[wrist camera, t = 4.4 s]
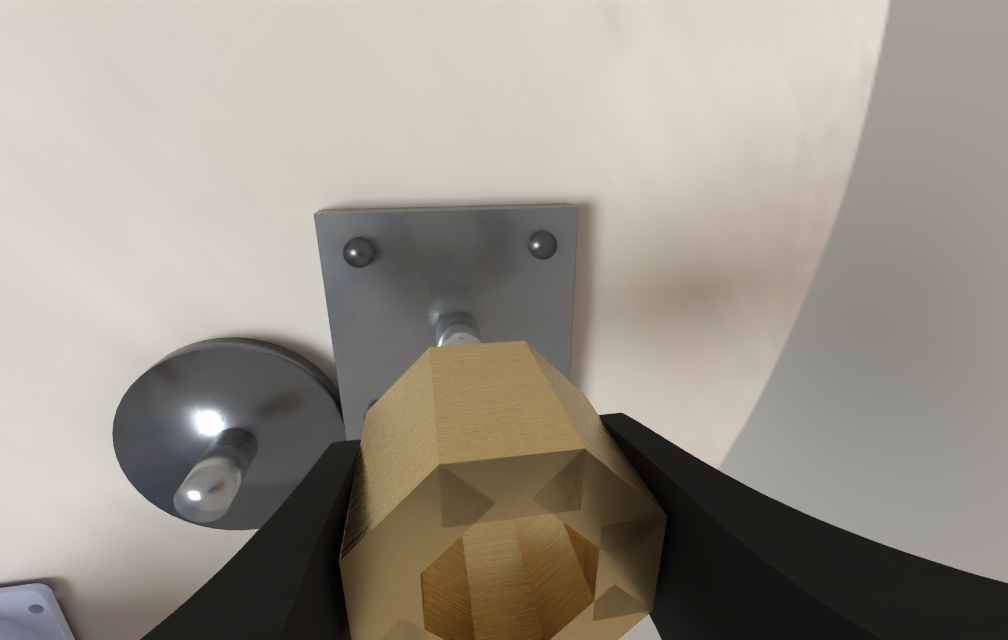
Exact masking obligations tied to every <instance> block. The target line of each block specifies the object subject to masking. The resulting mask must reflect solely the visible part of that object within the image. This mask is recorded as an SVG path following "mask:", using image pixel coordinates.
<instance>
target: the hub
mask: <svg viewBox="0 0 1008 640" xmlns="http://www.w3.org/2000/svg"><path fill="white" fill-rule="evenodd" d="M314 220H315V227H316V233H317V240H318V247H319V254H320V261H321V268H322V275H323V282H324V289H325V296H326V302H327V309H328V316H329V323H330V330H331V337H332V344H333V351H334V358H335V365H336V371H337V378H338V385H339V392H340V399H341V406H342V413H343V420H344V427H345V434H346V440H347V441H350V440H360V439H361V438H362V432H363V427H364V421H365V416H366V412H367V411H368V410H369V409H370V408H371V407H372V406H373V405H374V404H375V403H376V402H377V401H378V400H379V399H380V398H381V397H382V396H383V395H384V394H385V393H386V392H387V391H388V390H389V389H390V388H391V387H392V386H393V385H394V384H395V382H396V381H397V380H398V379H399V378H400V377H401V376H402V375H403V374H404V373H405V372H406V371H407V370H408V369H409V368H410V367H411V366H412V365H413V364H414V363H415V362H416V361H417V360H418V359H419V358H420V357H421V356H422V355H423V354H424V353H425V352H426V351H427V350H428V349H429V348H430V347H438V346H453V345H468V344H482V343H497V342H512V341H525V342H527V343H528V344H529V345H530V346H531V347H532V348H533V349H534V350H536V351H537V352H538V353H539V354H540V355H541V356H542V357H543V358H544V359H546V360H547V361H548V362H549V363H550V364H551V365H552V366H553V367H555V368H556V369H557V370H558V371H559V372H560V373H561V374H562V375H564V376H565V377H566V378H567V379H568V380H569V379H570V359H571V339H572V319H573V299H574V280H575V260H576V240H577V220H578V207H577V206H574V205H572V204H540V205H501V206H462V207H424V208H385V209H346V210H319V211H318V212H316V213H315V214H314Z"/></svg>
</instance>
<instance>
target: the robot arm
mask: <svg viewBox="0 0 1008 640" xmlns="http://www.w3.org/2000/svg"><path fill="white" fill-rule="evenodd" d="M599 417H600V418H601V420H602V421H603V423H604V424H605V426H606V427H607V429H608V430H609V432H610V433H611V435H612V436H613V438H614V439H615V440H616V442H617V443H618V444H619V446H620V447H621V449H622V450H623V452H624V453H625V455H626V456H627V458H628V459H629V461H630V462H631V464H632V465H633V466H634V468H635V469H636V471H637V472H638V474H639V475H640V477H641V478H642V480H643V481H644V483H645V484H646V485H647V487H648V488H649V490H650V491H651V493H652V494H653V496H654V497H655V499H656V500H657V502H658V503H659V505H660V506H661V507H662V509H663V510H664V512H665V513H666V515H667V516H668V517H667V522H666V529H665V535H664V541H663V548H662V554H661V560H660V567H659V573H658V579H657V586H656V592H655V598H654V604H653V611H651V612H650V613H649V615H650V617H651V619H652V621H653V623H654V624H655V626H656V628H657V630H658V633H659V635H660V637H661V639H662V640H1008V583H1004V582H1001V581H997V580H993V579H990V578H986V577H982V576H979V575H975V574H972V573H968V572H965V571H962V570H958V569H955V568H952V567H949V566H946V565H943V564H940V563H936V562H933V561H930V560H927V559H924V558H921V557H918V556H915V555H912V554H909V553H906V552H903V551H900V550H897V549H894V548H892V547H889V546H886V545H883V544H880V543H877V542H875V541H872V540H869V539H867V538H864V537H861V536H859V535H856V534H854V533H851V532H849V531H846V530H844V529H841V528H838V527H836V526H833V525H831V524H828V523H826V522H824V521H821V520H819V519H816V518H814V517H811V516H809V515H807V514H805V513H803V512H800V511H798V510H796V509H794V508H792V507H790V506H787V505H785V504H783V503H781V502H779V501H777V500H774V499H772V498H770V497H768V496H766V495H763V494H762V493H760V492H758V491H756V490H754V489H752V488H750V487H748V486H746V485H744V484H743V483H741V482H739V481H737V480H735V479H733V478H731V477H730V476H728V475H726V474H724V473H722V472H720V471H719V470H717V469H715V468H713V467H712V466H710V465H708V464H706V463H705V462H703V461H701V460H700V459H698V458H696V457H694V456H693V455H691V454H689V453H688V452H686V451H684V450H683V449H681V448H680V447H678V446H676V445H675V444H673V443H671V442H670V441H668V440H667V439H665V438H663V437H662V436H660V435H659V434H657V433H655V432H654V431H652V430H651V429H649V428H647V427H646V426H644V425H642V424H641V423H639V422H637V421H636V420H634V419H632V418H631V417H629V416H627V415H625V414H623V413H615V414H605V415H599ZM360 443H361V439H360V440H350V441H340V442H332V443H331V444H330V445H329V446H328V447H327V449H326V450H325V451H324V452H323V454H322V455H321V456H320V457H319V459H318V460H317V461H316V463H315V464H314V465H313V466H312V468H311V469H310V470H309V471H308V473H307V474H306V475H305V476H304V478H303V479H302V480H301V481H300V483H299V484H298V485H297V486H296V488H295V489H294V490H293V491H292V492H291V494H290V495H289V496H288V497H287V498H286V499H285V501H284V502H283V503H282V504H281V505H280V506H279V508H278V509H277V510H276V511H275V512H274V514H273V515H272V516H271V517H270V518H269V519H268V520H267V521H266V523H265V524H264V525H263V526H262V527H261V528H260V529H259V530H258V531H257V532H256V533H255V534H254V535H253V536H252V538H251V539H250V540H249V541H248V542H247V543H246V544H245V545H244V546H243V547H242V548H241V549H240V550H239V551H238V552H237V554H236V555H235V556H234V557H233V558H232V559H231V560H230V561H229V562H228V563H227V564H226V565H225V566H224V567H223V568H222V569H221V570H220V571H218V572H217V573H216V574H215V575H214V576H213V577H212V578H211V579H210V580H209V581H208V582H207V583H206V584H205V585H203V586H202V587H201V588H200V589H199V590H198V591H197V592H196V593H195V594H194V595H193V596H191V597H190V598H189V599H188V600H187V601H186V602H185V603H184V604H183V605H181V606H180V607H179V608H178V609H177V610H176V611H174V612H173V613H172V614H171V615H170V616H168V617H167V618H166V619H165V620H164V621H162V622H161V623H160V624H159V625H157V626H156V627H155V628H154V629H153V630H151V631H150V632H149V633H148V634H146V635H145V636H144V637H143V638H142V639H140V640H351V634H350V627H349V621H348V615H347V608H346V602H345V596H344V589H343V583H342V577H341V570H340V564H339V559H340V554H341V548H342V543H343V537H344V532H345V526H346V520H347V515H348V509H349V504H350V498H351V493H352V487H353V482H354V476H355V471H356V465H357V460H358V454H359V449H360ZM0 640H75V639H74V636H73V634H72V632H71V630H70V628H69V626H68V624H67V622H66V619H65V617H64V615H63V613H62V611H61V609H60V607H59V604H58V602H57V600H56V598H55V596H54V594H53V592H52V590H51V589H50V587H49V586H47V585H45V584H41V583H34V584H26V585H19V586H12V587H4V588H0Z"/></svg>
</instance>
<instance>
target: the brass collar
mask: <svg viewBox="0 0 1008 640" xmlns="http://www.w3.org/2000/svg"><path fill="white" fill-rule="evenodd" d="M667 517H668V516H667V515H666V513H665V512H664V510H663V509H662V507H661V506H660V505H659V503H658V502H657V500H656V499H655V497H654V496H653V494H652V493H651V491H650V490H649V488H648V487H647V485H646V484H645V483H644V481H643V480H642V478H641V477H640V475H639V474H638V472H637V471H636V469H635V468H634V466H633V465H632V464H631V462H630V461H629V459H628V458H627V456H626V455H625V453H624V452H623V450H622V449H621V447H620V446H619V444H618V443H617V442H616V440H615V439H614V438H613V436H612V435H611V433H610V432H609V430H608V429H607V427H606V426H605V424H604V423H603V421H602V420H601V418H600V417H599V415H598V414H597V412H596V411H595V409H594V408H593V406H592V405H591V403H590V402H589V400H588V399H587V398H586V396H585V395H584V393H583V392H581V391H580V390H579V389H578V388H577V387H576V386H575V385H574V384H572V383H571V382H570V381H569V380H568V379H567V378H566V377H565V376H564V375H562V374H561V373H560V372H559V371H558V370H557V369H556V368H555V367H553V366H552V365H551V364H550V363H549V362H548V361H547V360H546V359H544V358H543V357H542V356H541V355H540V354H539V353H538V352H537V351H536V350H534V349H533V348H532V347H531V346H530V345H529V344H528V343H527V342H525V341H512V342H497V343H482V344H468V345H453V346H438V347H430V348H429V349H428V350H427V351H426V352H425V353H424V354H423V355H422V356H421V357H420V358H419V359H418V360H417V361H416V362H415V363H414V364H413V365H412V366H411V367H410V368H409V369H408V370H407V371H406V372H405V373H404V374H403V375H402V376H401V377H400V378H399V379H398V380H397V381H396V382H395V384H394V385H393V386H392V387H391V388H390V389H389V390H388V391H387V392H386V393H385V394H384V395H383V396H382V397H381V398H380V399H379V400H378V401H377V402H376V403H375V404H374V405H373V406H372V407H371V408H370V409H369V410H368V411H367V412H366V416H365V421H364V427H363V432H362V438H361V443H360V449H359V454H358V460H357V465H356V471H355V476H354V482H353V487H352V493H351V498H350V504H349V509H348V515H347V520H346V526H345V532H344V537H343V543H342V548H341V554H340V559H339V564H340V570H341V577H342V583H343V589H344V596H345V602H346V608H347V615H348V621H349V627H350V634H351V640H618V639H619V638H620V637H622V636H623V635H624V634H625V633H626V632H628V631H629V630H630V629H631V628H632V627H633V626H635V625H636V624H637V623H638V622H639V621H641V619H643V618H644V617H645V616H647V615H648V614H649V613H650V612H651V611H653V604H654V598H655V592H656V586H657V579H658V573H659V567H660V560H661V554H662V548H663V541H664V535H665V529H666V522H667Z"/></svg>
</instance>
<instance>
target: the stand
mask: <svg viewBox="0 0 1008 640" xmlns="http://www.w3.org/2000/svg"><path fill="white" fill-rule="evenodd" d="M340 441H347V440H346V434H345V427H344V420H343V413H342V406H341V399H340V394H339V392H338V391H337V389H336V388H335V386H334V385H333V384H332V382H331V381H330V380H329V379H328V378H327V377H326V376H325V375H324V374H323V373H322V372H321V371H320V370H319V369H318V368H317V367H316V366H314V365H313V364H312V363H310V362H309V361H308V360H306V359H304V358H303V357H301V356H299V355H298V354H296V353H294V352H292V351H289V350H287V349H285V348H283V347H280V346H277V345H274V344H271V343H267V342H262V341H258V340H252V339H243V338H220V339H212V340H206V341H202V342H198V343H193V344H191V345H188V346H185V347H183V348H180V349H178V350H176V351H174V352H172V353H170V354H169V355H167V356H165V357H164V358H163V359H161V360H160V361H159V362H157V363H156V364H155V365H153V366H152V367H151V368H150V369H149V370H147V371H146V372H145V373H144V374H143V375H141V376H140V377H139V378H138V379H137V380H136V381H135V382H134V383H133V384H132V385H131V386H130V388H129V389H128V391H127V392H126V393H125V395H124V396H123V398H122V400H121V402H120V404H119V406H118V408H117V411H116V415H115V418H114V423H113V445H114V449H115V453H116V457H117V460H118V462H119V464H120V466H121V469H122V471H123V472H124V474H125V475H126V477H127V478H128V480H129V481H130V482H131V484H132V485H133V486H134V487H135V488H136V489H137V491H138V492H139V493H141V494H142V495H143V496H144V497H145V498H146V499H147V500H148V501H150V502H151V503H153V504H154V505H155V506H157V507H158V508H160V509H161V510H163V511H165V512H167V513H169V514H170V515H172V516H175V517H177V518H179V519H182V520H184V521H187V522H190V523H193V524H196V525H200V526H205V527H210V528H215V529H224V530H249V529H259V528H261V527H262V526H263V525H264V524H265V523H266V521H267V520H268V519H269V518H270V517H271V516H272V515H273V514H274V512H275V511H276V510H277V509H278V508H279V506H280V505H281V504H282V503H283V502H284V501H285V499H286V498H287V497H288V496H289V495H290V494H291V492H292V491H293V490H294V489H295V488H296V486H297V485H298V484H299V483H300V481H301V480H302V479H303V478H304V476H305V475H306V474H307V473H308V471H309V470H310V469H311V468H312V466H313V465H314V464H315V463H316V461H317V460H318V459H319V457H320V456H321V455H322V454H323V452H324V451H325V450H326V449H327V447H328V446H329V445H330V444H331V443H332V442H340Z"/></svg>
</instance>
